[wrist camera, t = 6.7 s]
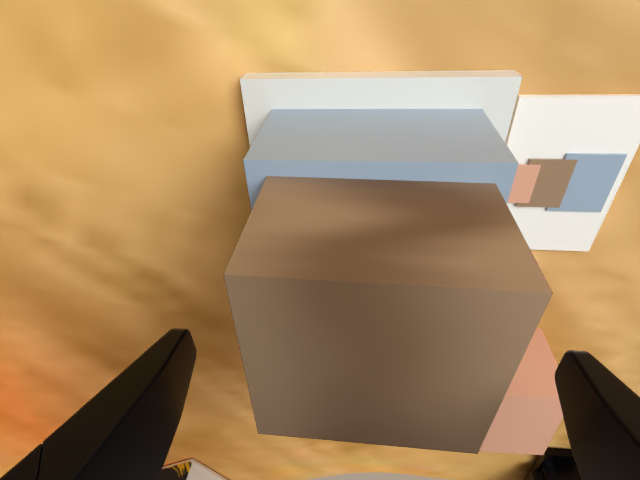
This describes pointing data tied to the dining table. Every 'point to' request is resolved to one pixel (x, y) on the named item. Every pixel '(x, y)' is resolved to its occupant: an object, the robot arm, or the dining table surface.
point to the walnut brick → (382, 309)
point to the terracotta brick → (528, 405)
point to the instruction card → (569, 164)
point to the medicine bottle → (188, 471)
